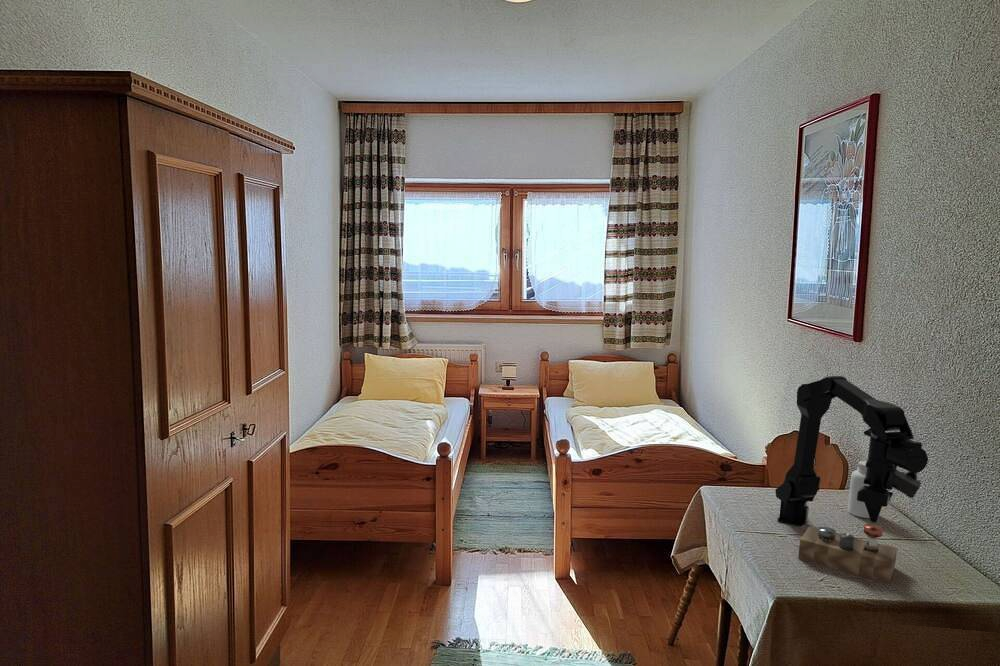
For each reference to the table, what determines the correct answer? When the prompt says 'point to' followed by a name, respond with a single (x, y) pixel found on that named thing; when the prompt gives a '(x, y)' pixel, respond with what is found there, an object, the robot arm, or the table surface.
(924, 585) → the table surface
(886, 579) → the mount
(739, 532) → the table surface
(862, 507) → the pill bottle
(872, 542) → the knob right
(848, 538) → the dial
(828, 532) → the knob left
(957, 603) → the table surface
